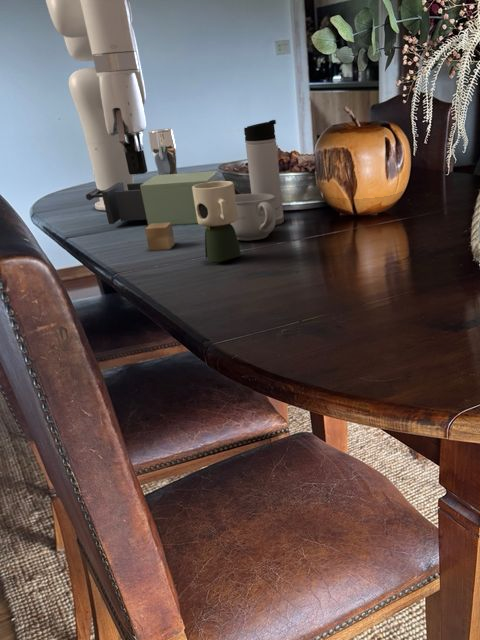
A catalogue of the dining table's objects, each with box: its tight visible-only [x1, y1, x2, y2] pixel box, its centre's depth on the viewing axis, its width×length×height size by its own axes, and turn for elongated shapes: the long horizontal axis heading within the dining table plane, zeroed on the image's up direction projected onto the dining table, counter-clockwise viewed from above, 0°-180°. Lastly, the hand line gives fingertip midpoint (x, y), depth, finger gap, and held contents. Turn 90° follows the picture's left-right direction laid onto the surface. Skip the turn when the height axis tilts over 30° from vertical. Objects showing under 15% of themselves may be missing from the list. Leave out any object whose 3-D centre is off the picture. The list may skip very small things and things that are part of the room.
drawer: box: [85, 182, 147, 225], centre depth 149 cm, size 18×12×7 cm, turn 87°
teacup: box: [231, 193, 276, 241], centre depth 126 cm, size 14×11×8 cm
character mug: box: [192, 180, 242, 263], centre depth 113 cm, size 11×7×13 cm, turn 24°
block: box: [144, 222, 176, 251], centre depth 127 cm, size 4×4×4 cm
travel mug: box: [243, 119, 285, 226], centre depth 134 cm, size 6×7×20 cm
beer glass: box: [148, 128, 178, 175], centre depth 186 cm, size 7×7×15 cm
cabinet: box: [140, 170, 220, 227], centre depth 148 cm, size 15×13×9 cm
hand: (138, 173), depth 125 cm, fingers closed
